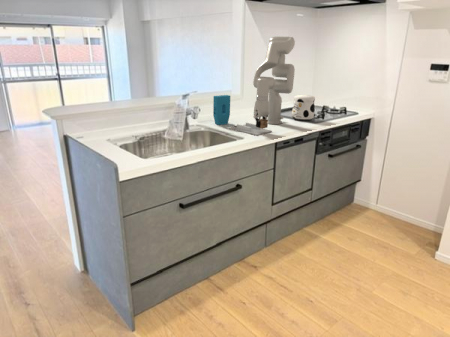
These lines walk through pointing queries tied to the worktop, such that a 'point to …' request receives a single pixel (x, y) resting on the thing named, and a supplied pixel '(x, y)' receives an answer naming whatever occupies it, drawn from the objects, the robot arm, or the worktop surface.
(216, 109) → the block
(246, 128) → the tube board
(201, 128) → the worktop surface
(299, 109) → the milk container
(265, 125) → the walnut block
